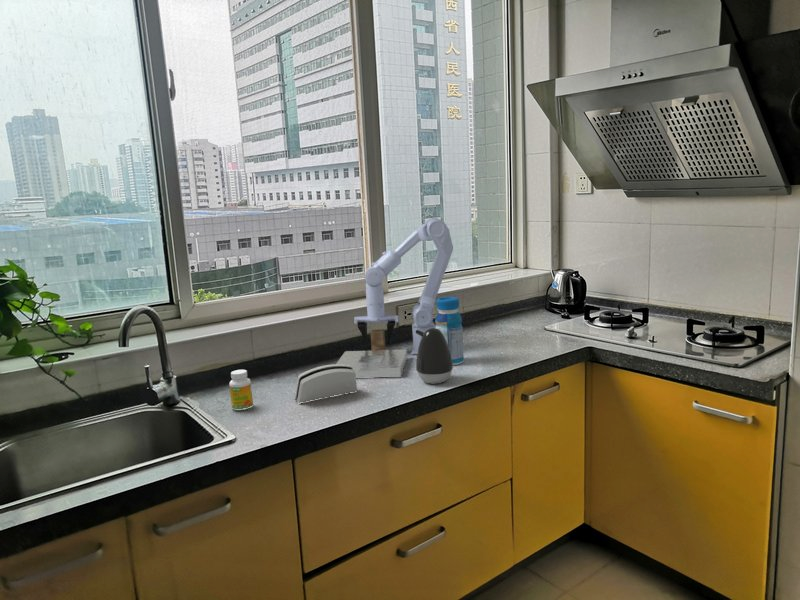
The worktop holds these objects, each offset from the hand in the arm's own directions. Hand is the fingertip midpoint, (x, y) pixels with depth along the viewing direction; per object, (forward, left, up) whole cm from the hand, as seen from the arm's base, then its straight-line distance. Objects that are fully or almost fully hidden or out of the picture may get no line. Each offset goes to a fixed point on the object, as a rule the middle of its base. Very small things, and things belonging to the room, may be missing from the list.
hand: (378, 343), depth 199 cm
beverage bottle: (-24, +12, -4) cm, 27 cm away
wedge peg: (0, 0, -4) cm, 4 cm away
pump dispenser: (-20, +30, -4) cm, 36 cm away
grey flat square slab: (0, +16, -4) cm, 16 cm away
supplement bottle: (+29, +48, -4) cm, 56 cm away
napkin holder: (+8, +41, -4) cm, 42 cm away
